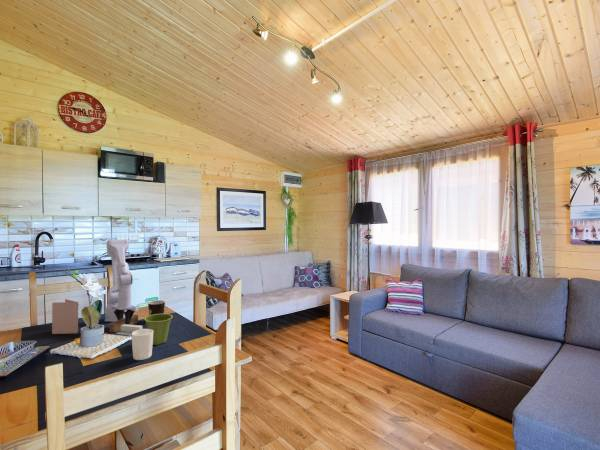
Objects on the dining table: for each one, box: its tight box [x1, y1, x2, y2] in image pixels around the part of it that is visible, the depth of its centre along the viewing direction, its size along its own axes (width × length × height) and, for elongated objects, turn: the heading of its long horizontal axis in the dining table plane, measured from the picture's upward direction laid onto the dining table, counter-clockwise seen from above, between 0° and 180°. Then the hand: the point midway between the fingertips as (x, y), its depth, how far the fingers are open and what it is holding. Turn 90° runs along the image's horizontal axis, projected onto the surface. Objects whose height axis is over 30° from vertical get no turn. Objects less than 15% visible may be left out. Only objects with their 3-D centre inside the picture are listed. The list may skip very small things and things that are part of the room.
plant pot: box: [144, 313, 173, 346], centre depth 145 cm, size 12×12×11 cm
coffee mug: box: [147, 299, 166, 316], centre depth 174 cm, size 12×9×10 cm
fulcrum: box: [115, 324, 144, 337], centre depth 157 cm, size 10×9×3 cm
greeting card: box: [51, 299, 80, 335], centre depth 154 cm, size 11×7×15 cm, turn 63°
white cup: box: [131, 328, 153, 361], centre depth 129 cm, size 8×8×10 cm
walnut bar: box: [108, 314, 139, 334], centre depth 164 cm, size 4×16×4 cm, turn 170°
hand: (124, 324), depth 164 cm, fingers closed on walnut bar, 3 cm apart
